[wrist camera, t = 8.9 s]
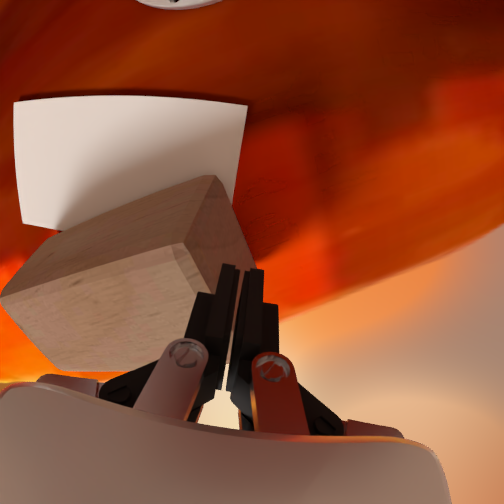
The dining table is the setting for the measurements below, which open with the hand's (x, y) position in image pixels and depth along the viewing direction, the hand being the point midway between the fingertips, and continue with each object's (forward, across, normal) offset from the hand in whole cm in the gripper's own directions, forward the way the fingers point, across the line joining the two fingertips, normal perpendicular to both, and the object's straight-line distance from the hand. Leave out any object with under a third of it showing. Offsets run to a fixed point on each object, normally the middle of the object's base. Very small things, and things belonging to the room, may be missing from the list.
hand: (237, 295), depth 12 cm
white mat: (+13, +13, 0) cm, 18 cm away
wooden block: (+7, 0, +3) cm, 8 cm away
